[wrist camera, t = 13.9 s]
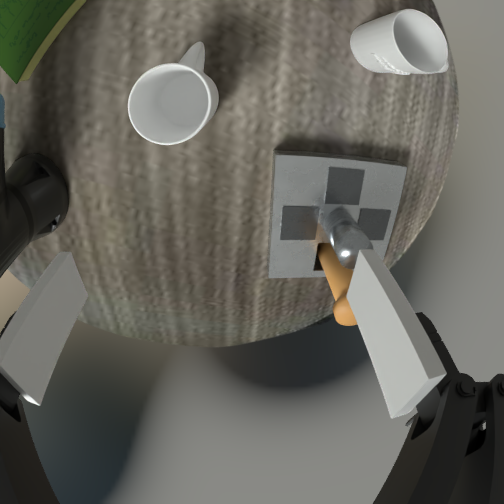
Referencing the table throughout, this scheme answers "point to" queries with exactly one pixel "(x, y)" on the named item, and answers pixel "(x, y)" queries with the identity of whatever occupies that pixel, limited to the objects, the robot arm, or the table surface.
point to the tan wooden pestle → (337, 283)
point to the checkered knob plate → (329, 209)
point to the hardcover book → (30, 32)
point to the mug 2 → (401, 44)
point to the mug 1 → (174, 99)
